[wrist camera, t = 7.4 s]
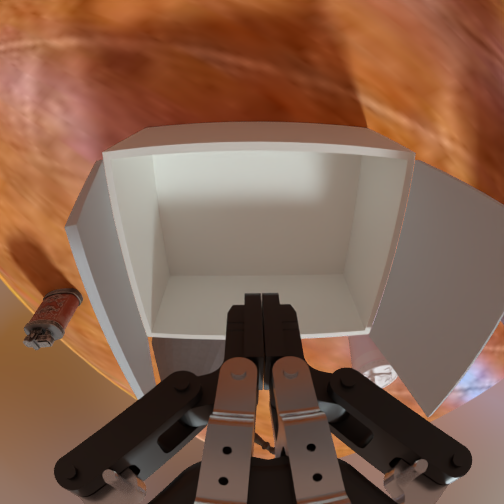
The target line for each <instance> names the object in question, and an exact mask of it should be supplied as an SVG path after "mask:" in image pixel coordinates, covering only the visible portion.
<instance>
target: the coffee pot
mask: <svg viewBox="0 0 504 504" xmlns="http://www.w3.org/2000/svg"><path fill="white" fill-rule="evenodd" d="M152 346H153V350H154V354H155V359H156V363H157V367H158V371H159V375H160V379H161V381H163V380H164V379H165V378H166V377H168V376H169V375H170V374H172V373H174V372H176V371H183V370H184V371H190V372H192V373H194V374H195V375H196V376H201V375H205V374H209V373H212V372H214V371H216V370H217V369H218V368H219V367H220V366H221V365H222V363H223V361H224V354H225V340H215V339H182V338H162V337H153V338H152ZM254 442H255V443H257V444H259V445H261V446H262V449H267V450H269V452H270V453H272V454H275V447H274V448H273V447H271V446H270V444H269V442H265V441H264V440H263V439H262V438H261V437H260V436H259V435H258V434H257V433H255V436H254Z"/></svg>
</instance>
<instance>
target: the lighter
mask: <svg viewBox="0 0 504 504" xmlns="http://www.w3.org/2000/svg"><path fill="white" fill-rule="evenodd" d="M82 301H83V297H82V295H81V293H80V292H79V291H78V290H76V289H73V288H64V289H57V290H54V291H51V292H49V293H48V294H46V295H45V297H44V298H43V302H42V303H41V305H40V306H39V308H38V309H37V311H36V312H35V314H34V315H33V317H32V319H31V320H30V322H29V323H27V324H26V326H25V327H24V331H25V333H26V334H27V336H26V338H25V339H24V341H23V343H24V344H25V345H26V346H27V347H33V348H34V349H35V350H38V349H39V348H40V347H50V346H52V344H53V343H54V341H55V340H58V339H61V338H62V337H63V335H64V333H65V331H64V330H65V329H66V327H67V325H68V323H69V321H70V319H71V318H72V316H73V314H74V312H75V310H76V309H77V307H78V306H79V305H80V304H81V303H82Z"/></svg>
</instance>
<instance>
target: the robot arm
mask: <svg viewBox="0 0 504 504" xmlns="http://www.w3.org/2000/svg"><path fill="white" fill-rule="evenodd" d="M501 322H502V323H503V324H504V315H503V317H502V319H501ZM263 378H264V390H269V393H270V402H269V407H270V414H271V421H272V428H273V435H274V442H275V458H274V459H270V460H266V459H261V458H256V457H253V452H254V436H255V422H256V408H257V404H258V395H259V390H262V388H263ZM207 424H208V426H207ZM206 426H207V432H206V438H205V444H204V450H203V457H202V461H201V462H198V463H196V464H193V465H192V466H190V467H188V468H187V469H186V470H184V471H183V472H182V473H181V474H180V475H179V476H178V477H176V478H175V479H174V480H173V481H172V482H171V483H170V484H169V485H168V486H167V487H166V488H165V489H164V490H163V491H162V492H160V493H159V494H158V495H157V496H156V497H155V498H154V499H153V500H151V501H150V502H149V503H148V504H435V503H436V502H437V500H438V499H439V498H440V496H441V495H442V493H443V492H444V490H445V489H446V487H447V486H448V485H449V484H450V483H452V482H454V481H455V480H457V479H459V478H460V477H462V476H464V475H465V474H466V473H467V472H468V471H469V469H470V468H471V465H472V456H471V453H470V451H469V450H468V449H467V448H466V447H465V446H463V445H462V444H460V443H459V442H458V441H456V440H455V439H453V438H452V437H450V436H449V435H447V434H446V433H444V432H443V431H441V430H440V429H438V428H437V427H436V426H434V425H433V424H431V423H430V422H428V421H427V420H426V419H424V418H423V417H421V416H420V415H418V414H417V413H416V412H414V411H413V410H411V409H410V408H408V407H407V406H406V405H404V404H403V403H401V402H400V401H399V400H397V399H396V398H394V397H393V396H392V395H390V394H389V393H387V392H386V391H385V390H383V389H382V388H380V387H379V386H378V385H376V384H375V383H374V382H372V381H371V380H369V379H368V378H367V377H365V376H364V375H363V374H361V373H360V372H358V371H357V370H355V369H352V368H341V369H338V370H336V371H335V372H334V373H333V374H332V373H327V372H322V371H318V370H316V369H314V368H312V367H311V366H309V365H308V364H307V362H306V361H305V359H304V355H303V348H302V342H301V336H300V330H299V325H298V319H297V313H296V311H295V310H294V308H293V307H292V306H291V304H280V301H279V294H278V293H262V307H261V293H245V297H244V305H232V307H231V308H230V310H229V311H228V313H227V325H226V340H225V354H224V361H223V363H222V365H221V366H220V367H219V368H218V369H217V370H216V371H214V372H212V373H209V374H205V375H201V376H196V375H195V374H194V373H192V372H190V371H184V370H183V371H176V372H174V373H172V374H170V375H169V376H168V377H166V378H165V379H164V380H163V381H161V382H160V383H159V384H158V385H156V386H155V387H154V388H153V389H151V390H150V391H149V392H148V393H146V394H145V395H144V396H143V397H141V398H140V399H139V400H137V401H136V402H135V403H134V404H133V405H131V406H130V407H128V408H127V409H126V410H125V411H123V412H122V413H121V414H119V415H118V416H117V417H116V418H114V419H113V420H112V421H110V422H109V423H108V424H106V425H105V426H104V427H102V428H101V429H100V430H98V431H97V432H96V433H94V434H93V435H92V436H90V437H89V438H88V439H86V440H85V441H84V442H82V443H81V444H80V445H78V446H77V447H75V448H74V449H73V450H71V451H70V452H69V453H67V454H66V455H64V456H63V457H61V458H60V459H59V460H58V461H57V463H56V465H55V468H54V475H55V478H56V480H57V482H58V483H59V484H60V485H61V486H62V487H63V488H65V489H67V490H69V491H71V492H72V493H73V494H75V495H77V496H78V497H80V498H81V500H82V501H83V502H84V504H140V503H141V502H142V500H143V499H144V498H145V496H146V485H145V483H144V482H143V481H144V480H145V479H147V478H148V477H149V476H150V475H152V474H153V473H154V472H155V471H156V470H158V469H159V468H160V467H161V466H162V465H163V464H165V463H166V461H168V460H169V459H170V458H172V457H173V456H174V455H175V454H176V453H177V452H178V451H179V450H181V449H182V448H183V447H184V446H185V445H186V444H187V443H188V442H190V440H192V439H193V438H194V437H195V436H196V435H197V434H198V433H199V432H200V431H201V430H203V429H204V428H205V427H206ZM331 433H332V434H334V435H335V436H336V437H337V438H339V439H340V440H341V441H342V442H343V443H345V444H346V445H347V446H348V447H350V448H351V449H352V450H353V451H355V452H356V453H357V454H358V455H360V456H361V457H363V458H364V459H365V460H366V461H367V462H369V463H370V464H371V465H373V466H374V467H375V468H377V469H378V470H379V471H381V472H382V473H384V474H385V477H384V487H385V489H386V491H387V492H388V493H389V494H390V495H391V496H392V499H391V498H390V497H389V496H388V495H386V494H385V493H384V492H383V491H381V490H380V489H379V488H378V487H376V486H375V485H374V484H373V483H371V482H370V481H369V480H368V479H366V478H365V477H364V476H363V475H362V474H361V473H359V472H358V471H357V470H356V469H355V468H354V467H352V466H351V465H350V464H348V463H347V462H345V461H343V460H341V459H338V458H337V455H336V451H335V447H334V444H333V440H332V436H331Z"/></svg>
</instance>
